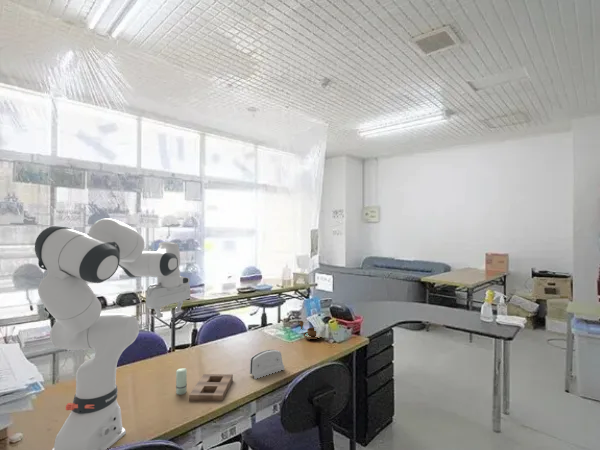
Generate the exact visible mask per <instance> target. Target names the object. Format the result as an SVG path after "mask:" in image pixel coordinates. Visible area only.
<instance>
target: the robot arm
mask: <svg viewBox="0 0 600 450" xmlns="http://www.w3.org/2000/svg"><path fill="white" fill-rule="evenodd" d="M88 230H89V231H88V233H87V234H86V233H83V232H81V231H78V230H74V229H73V228H71V227H67V226H62V225H54V226H53V225H52V226H49V227H46V228H45V229H43V230H42V231H40V233H39V234H38V235H37V237H36V239H35V242H34V252H35V255H36V257H37V259H38V263H37V265H38V266H39V268H40V269H42V270H43V271H44V270H45V271H47V274H46V275H45V276H44V277H43V279H41V280H40V283H39V284H38V288H37V293H38V296H39V299H40V301H41V302H42V303H41V304H42V305H43V306H44V308H45V309H46V310H47V312H48V313H49V314H50V315H51V317H53V318H54V320H56V321H55V322H54V324H52V327H51V329H50V333H49V339H50V342H51V345H53V347H54V348H56V349H62V350H68V351H80V350H81V351H83V350H94V356H93V357H91V358H89V359H88V360H86V361H84V362H83V363H82V364H81V365H79V367H78V369H77V370H76V373H75V394H74V397H73V399H72V402H68V403H67V404H66V406H65V410H66V411H70V413H69V415H68V417H67V418H66V420H65V421H64V423H63V425H62V426H61V428H60V430H59V431H58V433H57V434H56V436H55V440H54V445H53V448H52V449H51V450H108V449H109V448H110V447H112V445H114V444H115V443H116V442H118V441H119V440H120V439H121V438H122V437H123V436H125V435H126V434H127V432H126V429H125V427H123V419H122V409H121V406H120V405H119V403H118V400H117V398H118V393H119V390H118V386H117V384H116V383H117V381H116V379H117V368H118V366H117V365H118V361H119V359H120V357H121V355H122V354H123V352H124V351H126V349H127V348H129V346H130V345H132V344H133V343H134V342H135V341H136V339H137V338H138V336H139V332H140V323H139V321H138V319H137V317H135V316H134V315H133V314H127V313H119V312H117V313H115V312H113V313H102V302H101V301H100V300H99V298H98V297H97V295H96V294H95V293H94V291H93V290H92V288H91V286H89V284H88V283H94V284H100V283H103V282H105V281H107V280H110V278H112V277H113V276H114V275H115V274H116V272H117V271H118V268H119V267H120V268H121V269H122V270H123V272H124V273H125V274H126V275H127V276H128V277H129V278H141V277H143V278H144V277H147V278H149V277H150V278H151V277H155V278H156V277H157V278H156V279H157V283H152V284H150V285H149V286H148V287H147V289H146V297H145V307H146V308H147V309H151V310H152V309H153V310H154V312H155V314H156V318H158V319H160V318H163V315H164V314H163V313H164V312H161V307H165V306H168V305H171V304H175V303H177V306H176V307H175V309H174V310H175V313H180V312H182V306H183V304H184V301H187V300H189V299H190V297H191V286H190V282H191V279H190V277H185V276H183V275H181V271H180V266H181V253H180V247H179V244H178V243H177V242H174V241H172V242H171V241H161V242H159V243H158V247H157V250H156V251H144V250H145V239H144V237H143V235H141V233H140V232H138V231H137V230H136V229H134V228H133V227H131V226H130V225H128V224H126V223H124V222H123V221H119V220H117V219H113V218H111V217H110V218H108V217H107V218H106V217H105V218H101V219H98V220H97V221H95V222H94V223H93V224H92V225H91V226H90V228H89V229H88ZM87 282H88V283H87ZM107 448H108V449H107Z"/></svg>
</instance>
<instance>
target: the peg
mask: <svg viewBox="0 0 600 450" xmlns="http://www.w3.org/2000/svg"><path fill="white" fill-rule="evenodd" d="M187 372H188V371H187V368H185V367H184V368H181V367H180V368H177V370H176V371H175V383H176V384H175V388H176V390H175V393H176V395H182V396H183V395H185V394H186V393H187V391H188V390H187V385H188V384H187V382H188V381H187V377H188V375H187V374H188V373H187Z"/></svg>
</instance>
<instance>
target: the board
mask: <svg viewBox="0 0 600 450" xmlns="http://www.w3.org/2000/svg"><path fill="white" fill-rule="evenodd" d="M233 376H234V375H233V374H227V373H226V374H223V373H221V374H219V373H218V374H216V373H215V374H211V373H208V374H207V373H204V374H202V376H201V377H200V379H199V380H198V381H197V383H196V384H195V385H194V387H193V389H192V390H191V392H190V393H189V394H188V402H190V401H191V402H201V401H202V402H222V401H223V400H224V398H225V396H226V395H227V392H228V390H229V389H230V387H231V385H232V382H233V379H234V377H233Z"/></svg>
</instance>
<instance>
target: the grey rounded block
mask: <svg viewBox="0 0 600 450" xmlns="http://www.w3.org/2000/svg"><path fill="white" fill-rule="evenodd" d="M249 360H250V361H249V373H248V374H249V375H251V376H253V379H254V380H257V378H258V379H260V377H261V378H264V377H267V376H269V374H270V375H272V373H273V374H276V373H279V372H282V371H281V370H283V371H285V365H284V362H283V357H282V352H281V351H280V350H277V349H266V350H265V349H264V350H261V351H259V352H257V353H255V354H254V355H252V356H251V357H250V359H249ZM278 371H279V372H278ZM275 372H276V373H275ZM266 375H267V376H266ZM263 376H264V377H263Z"/></svg>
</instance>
